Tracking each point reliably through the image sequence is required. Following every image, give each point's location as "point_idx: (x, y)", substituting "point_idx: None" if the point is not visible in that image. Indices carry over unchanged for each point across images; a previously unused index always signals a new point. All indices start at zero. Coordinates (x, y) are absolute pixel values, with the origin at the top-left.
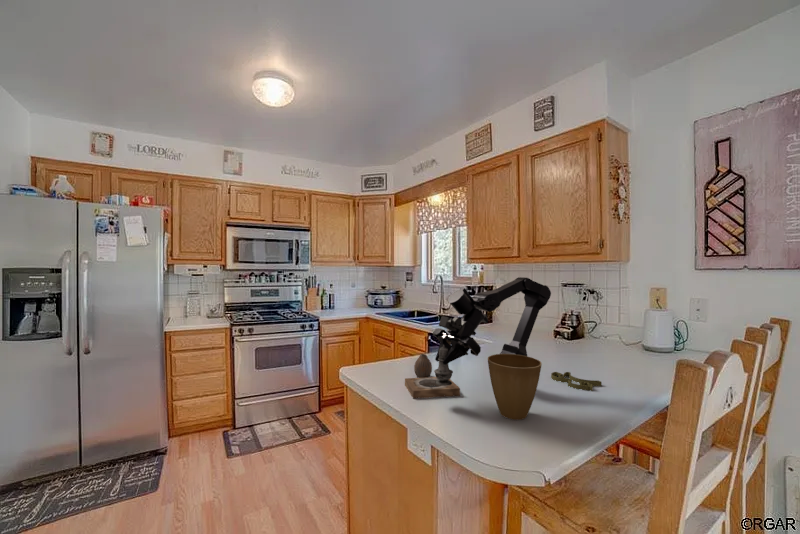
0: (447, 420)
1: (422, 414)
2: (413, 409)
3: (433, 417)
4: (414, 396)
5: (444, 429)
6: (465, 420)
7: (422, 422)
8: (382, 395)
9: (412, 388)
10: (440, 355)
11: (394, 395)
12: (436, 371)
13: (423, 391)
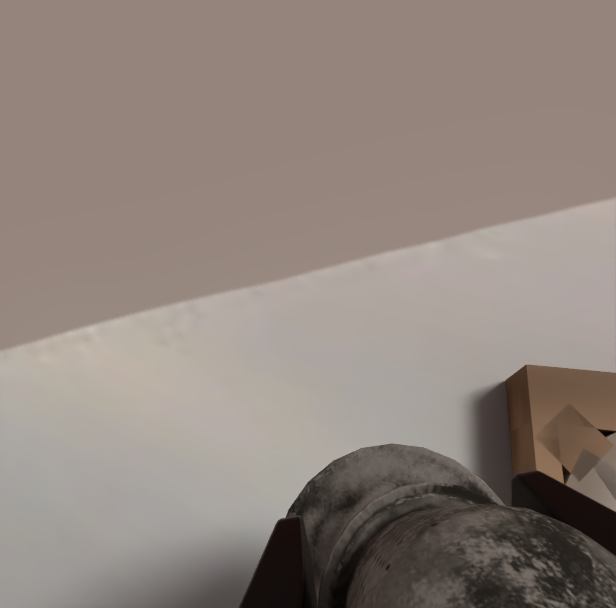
0: (134, 458)
1: (257, 352)
2: (335, 328)
3: (200, 395)
4: (510, 384)
5: (53, 393)
6: (83, 576)
7: (169, 319)
8: (572, 228)
9: (577, 374)
10: (413, 518)
11: (570, 288)
12: (394, 466)
13: (529, 445)
